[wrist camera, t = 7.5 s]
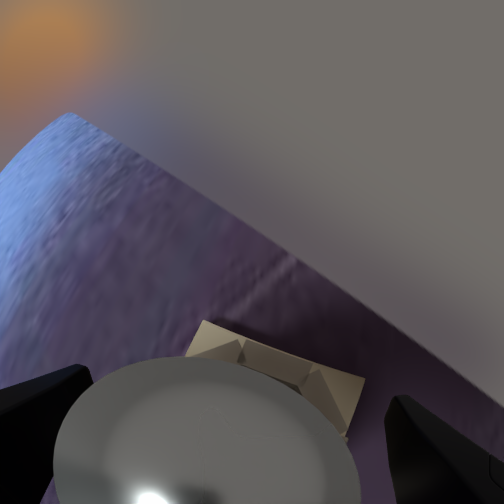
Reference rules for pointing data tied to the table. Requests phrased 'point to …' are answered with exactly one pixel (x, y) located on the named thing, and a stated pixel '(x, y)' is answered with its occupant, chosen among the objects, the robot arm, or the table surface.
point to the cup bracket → (285, 372)
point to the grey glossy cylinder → (199, 440)
